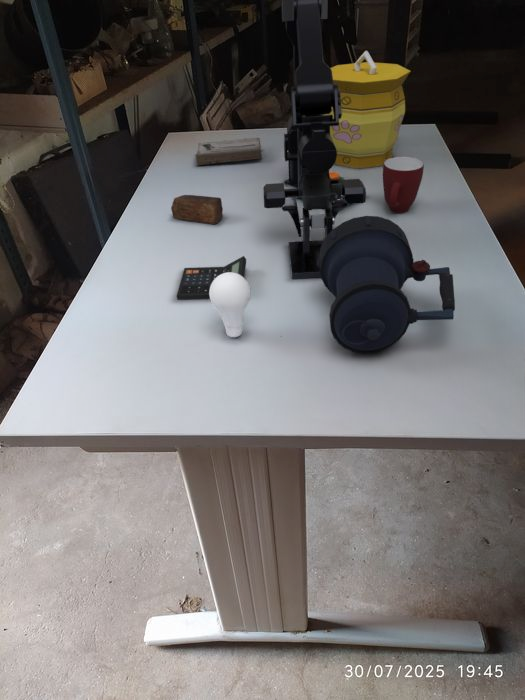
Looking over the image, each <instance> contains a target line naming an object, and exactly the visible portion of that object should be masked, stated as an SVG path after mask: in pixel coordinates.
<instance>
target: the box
mask: <svg viewBox="0 0 525 700" xmlns="http://www.w3.org/2000/svg"><path fill="white" fill-rule="evenodd" d="M262 152H263V150H262V148H261V139H260V137H251V138H242V139H239V138H238V139H231V140H219V141H209V142H208V141H207V142H199V143H198V144H197V150H196V153H195V160H196V164H197V166H202V165H203V166H205V165H210V164H211V165H213V164H222V163H228V162H229V163H232V162H241V161H247V160H250V161H251V160H259V159H260V160H262V159H263V157H262Z"/></svg>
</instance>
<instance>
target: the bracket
mask: <svg viewBox="0 0 525 700" xmlns="http://www.w3.org/2000/svg"><path fill="white" fill-rule="evenodd" d="M301 210H302V213H301V214H302V217H301V218H299V220H300V226H303V227H302V240H297V241H296V240H295V241H288V255H289V263H290V272H291V280H301V279H304V280H305V279H322V278H321V270H320V268H319V267H318V264H317V261H318V259H319V254H320V248H321V245H322V243H323V241H324V239H325V238H326V236H327V235H328V234H329V233H330V232H331V231H332V230H333V229H334V225H335V223H336V221H335V220H336V218H335V219H334V217H333V215H332V211H331V207H330V208H329V209H326V210H324V228H323V239H318V240H317V239H315V240H311V227H310V210H305V209H304V208H303V207H302V209H301Z"/></svg>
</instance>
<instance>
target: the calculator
mask: <svg viewBox="0 0 525 700" xmlns="http://www.w3.org/2000/svg"><path fill="white" fill-rule="evenodd" d="M246 265H247V258H246V257H245V255H243V256H241V257H239V258H237V259H235V260H234V261H232V262H230V263H228V264H227V265H224V266H205V267H203V266H202V267H200V266H199V267H184V268H183V272H182V276H181V278H180V282H179V286H178V289H177V293H176V300H177V301H185V300H186V301H187V300H210V296H209V290H210V286H211V284H212V282H213V280H214V279H215V278H216V277H217V276H219V275H221V274H223V273H227V272H233V273H237V274H239V275H241V276H242V277H244V278H245V276H246Z"/></svg>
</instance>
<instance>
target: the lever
mask: <svg viewBox="0 0 525 700" xmlns="http://www.w3.org/2000/svg"><path fill="white" fill-rule="evenodd" d="M309 216H310V230H315V229H316V230H317V229H324V218H325V213H320V214H319V213H317V214H309ZM301 228H303V226H301Z"/></svg>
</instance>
